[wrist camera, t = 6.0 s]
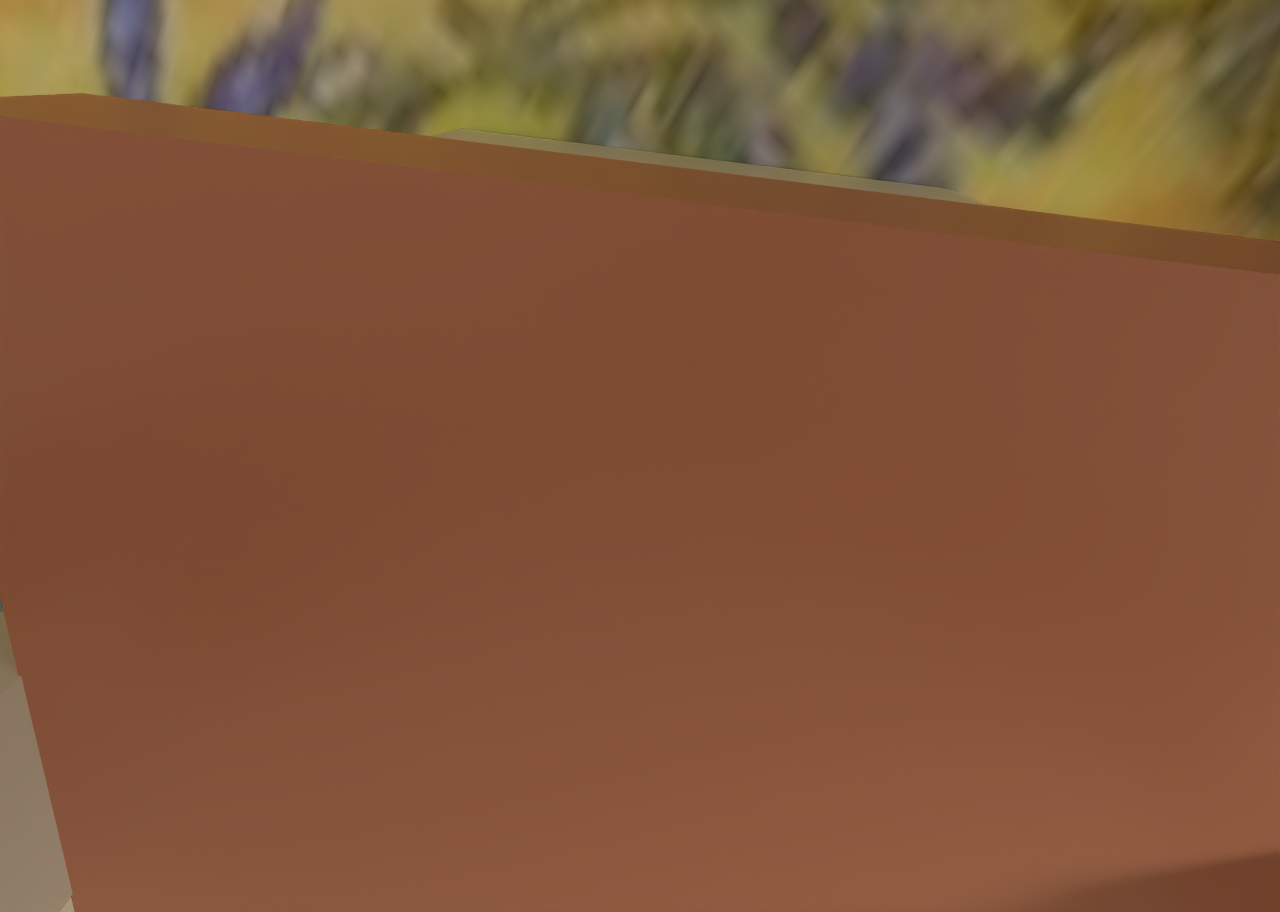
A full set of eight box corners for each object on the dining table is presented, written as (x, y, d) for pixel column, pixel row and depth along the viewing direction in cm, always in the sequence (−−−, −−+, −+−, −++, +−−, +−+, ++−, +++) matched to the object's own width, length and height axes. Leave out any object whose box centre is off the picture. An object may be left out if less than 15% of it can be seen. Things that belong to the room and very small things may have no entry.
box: (462, 128, 17) (257, 184, 8) (945, 188, 17) (1209, 300, 9) (450, 584, 21) (307, 915, 13) (835, 628, 21) (938, 984, 13)
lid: (149, 91, 8) (-120, 100, 5) (1370, 242, 8) (1713, 329, 6) (247, 925, 13) (131, 1153, 10) (1011, 1014, 13) (1098, 1260, 10)
